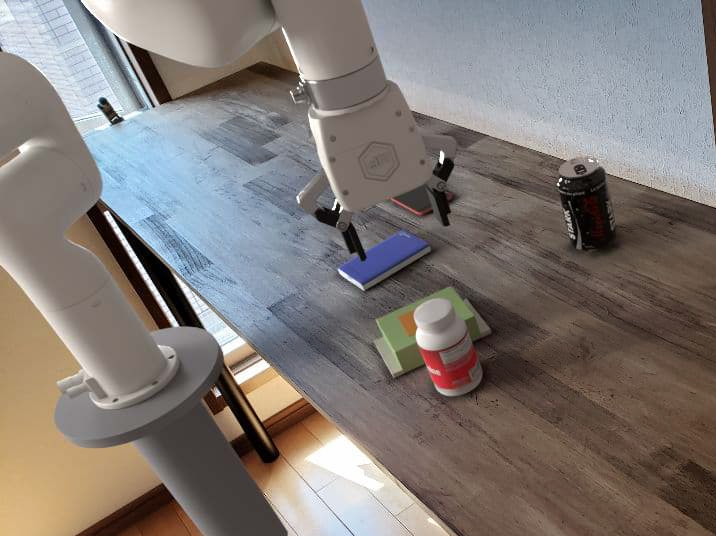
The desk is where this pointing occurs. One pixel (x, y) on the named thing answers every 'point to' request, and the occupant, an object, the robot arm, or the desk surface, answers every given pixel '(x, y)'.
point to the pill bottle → (447, 348)
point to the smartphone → (417, 200)
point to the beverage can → (586, 204)
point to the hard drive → (384, 259)
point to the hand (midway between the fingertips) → (402, 238)
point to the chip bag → (401, 330)
